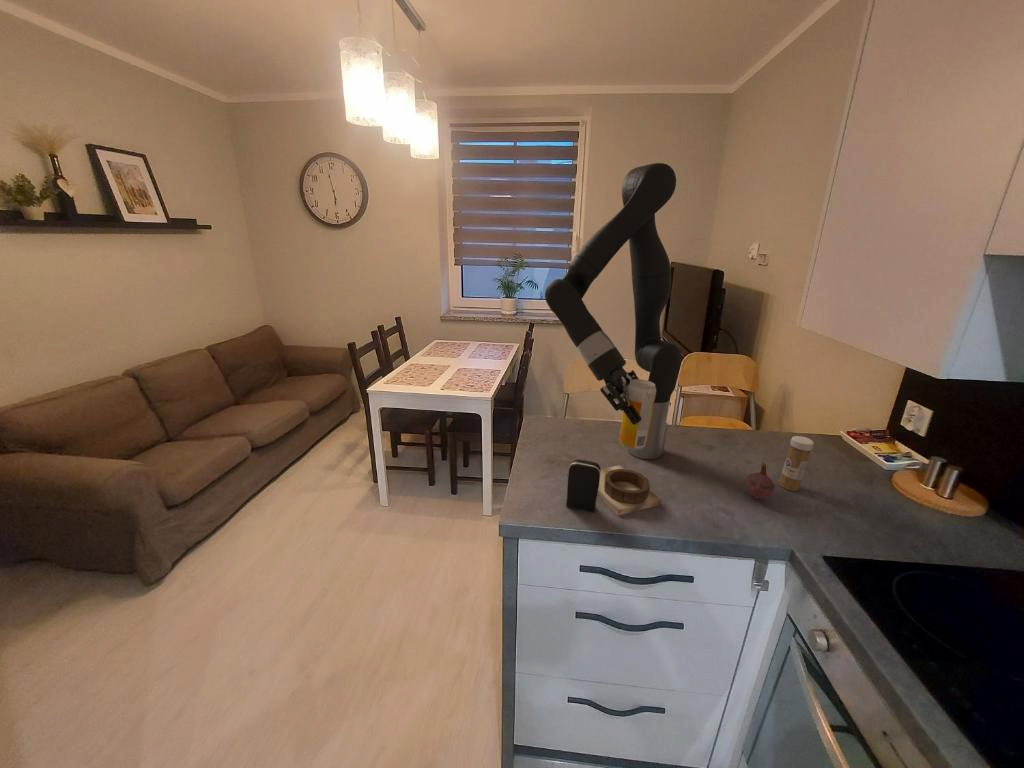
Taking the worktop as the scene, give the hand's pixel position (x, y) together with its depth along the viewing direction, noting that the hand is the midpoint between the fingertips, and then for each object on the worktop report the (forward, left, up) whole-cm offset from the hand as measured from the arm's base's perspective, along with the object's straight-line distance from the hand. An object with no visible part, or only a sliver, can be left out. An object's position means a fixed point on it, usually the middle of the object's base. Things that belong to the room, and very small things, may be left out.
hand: (643, 417), depth 90 cm
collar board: (+1, -4, -21) cm, 22 cm away
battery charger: (+13, -2, -21) cm, 25 cm away
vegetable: (-29, +10, -21) cm, 38 cm away
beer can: (+1, -1, -7) cm, 8 cm away
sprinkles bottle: (-42, +9, -21) cm, 48 cm away
